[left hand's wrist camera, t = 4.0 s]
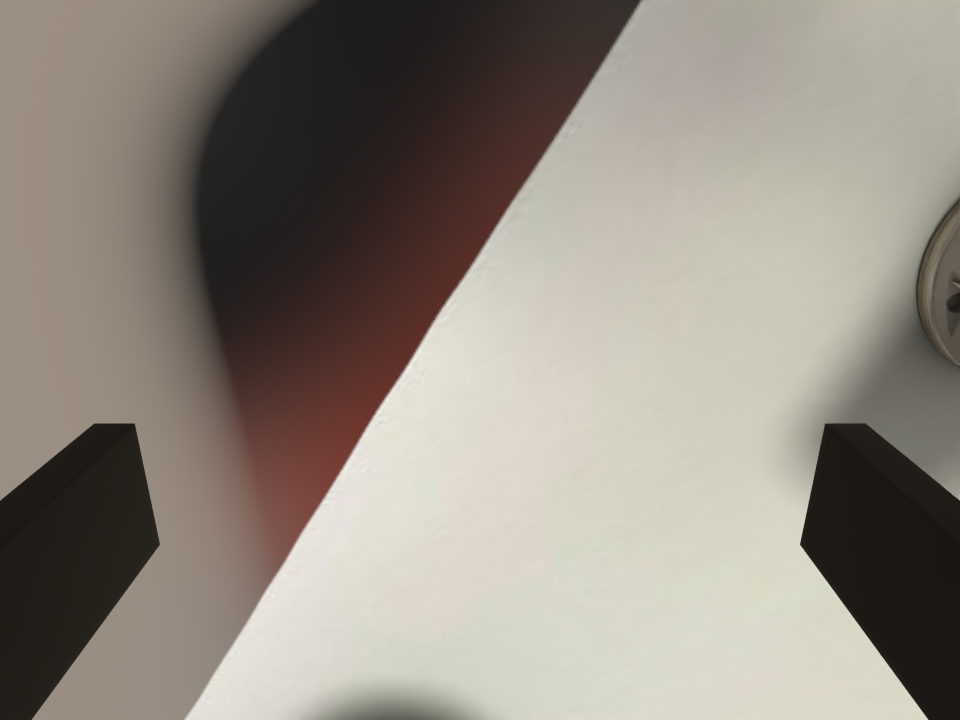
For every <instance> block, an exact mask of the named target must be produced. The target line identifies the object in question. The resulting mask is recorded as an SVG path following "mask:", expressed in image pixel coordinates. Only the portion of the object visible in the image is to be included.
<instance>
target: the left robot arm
mask: <svg viewBox="0 0 960 720" xmlns="http://www.w3.org/2000/svg"><path fill="white" fill-rule="evenodd" d="M918 308H919V314H920V318H921V321H922V325H923V327H924V329H925V332H926V334H927V336H928V337H929V339H930V341H931V342H932V343H933V345H934V346H935V347H936V349H937V350H938V351H939V352H940V353H941V354H942V355H943V356H945V357H946V358H947V359H949V360H950V361H951V362H953V363H955V364H956V365H958V366H960V202H959V203H958V204H957V205H956V206H955V207H954V208H953V209H952V211H951V212H950V213H949V214H948V216H947V217H946V218H945V220H944V221H943V223H942V224H941V226H940V227H939V229H938V230H937V232H936V234H935V235H934V237H933V239H932V241H931V243H930V245H929V247H928V250H927V252H926V255H925V258H924V260H923V263H922V267H921V271H920V276H919V283H918ZM159 545H160V543H159V538H158V533H157V528H156V523H155V519H154V514H153V509H152V504H151V499H150V495H149V490H148V485H147V480H146V475H145V471H144V466H143V461H142V456H141V451H140V447H139V442H138V437H137V432H136V427H135V424H93V425H92V426H91V427H90V428H88V429H87V430H86V431H85V432H84V433H82V434H81V435H80V436H79V437H77V438H76V439H75V440H74V441H73V442H71V443H70V444H69V445H68V446H66V447H65V448H64V449H63V450H62V451H60V452H59V453H58V454H57V455H55V456H54V457H53V458H52V459H51V460H49V461H48V462H47V463H46V464H44V465H43V466H42V467H41V468H40V469H38V470H37V471H36V472H35V473H33V474H32V475H31V476H30V477H29V478H27V479H26V480H25V481H24V482H22V483H21V484H20V485H19V486H18V487H16V488H15V489H14V490H13V491H12V492H10V493H9V494H8V495H7V496H5V497H4V498H3V499H2V500H1V501H0V720H32V718H33V717H34V716H35V714H36V713H37V712H38V710H39V709H40V707H41V706H42V705H43V703H44V702H45V701H46V699H47V698H48V697H49V695H50V694H51V692H52V691H53V690H54V688H55V687H56V686H57V684H58V683H59V682H60V680H61V679H62V677H63V676H64V675H65V673H66V672H67V671H68V669H69V668H70V667H71V665H72V664H73V662H74V661H75V660H76V658H77V657H78V656H79V654H80V653H81V652H82V650H83V649H84V647H85V646H86V645H87V643H88V642H89V641H90V639H91V638H92V636H93V635H94V634H95V632H96V631H97V630H98V628H99V627H100V626H101V624H102V623H103V622H104V620H105V619H106V617H107V616H108V615H109V613H110V612H111V611H112V609H113V608H114V606H115V605H116V604H117V602H118V601H119V600H120V598H121V597H122V596H123V594H124V593H125V591H126V590H127V589H128V587H129V586H130V585H131V583H132V582H133V580H134V579H135V578H136V576H137V575H138V574H139V572H140V571H141V570H142V568H143V567H144V565H145V564H146V563H147V561H148V560H149V559H150V557H151V556H152V555H153V553H154V552H155V550H156V549H157V548H158V546H159ZM800 545H801V546H802V548H803V549H804V551H805V552H806V553H807V555H808V556H809V557H810V559H811V560H812V561H813V563H814V564H815V566H816V567H817V568H818V570H819V571H820V572H821V574H822V575H823V576H824V578H825V579H826V581H827V582H828V583H829V585H830V586H831V587H832V589H833V590H834V591H835V593H836V594H837V596H838V597H839V598H840V600H841V601H842V602H843V604H844V605H845V606H846V608H847V609H848V611H849V612H850V613H851V615H852V616H853V617H854V619H855V620H856V622H857V623H858V624H859V626H860V627H861V628H862V630H863V631H864V632H865V634H866V635H867V637H868V638H869V639H870V641H871V642H872V643H873V645H874V646H875V647H876V649H877V650H878V652H879V653H880V654H881V656H882V657H883V658H884V660H885V661H886V662H887V664H888V665H889V667H890V668H891V669H892V671H893V672H894V673H895V675H896V676H897V677H898V679H899V680H900V682H901V683H902V684H903V686H904V687H905V688H906V690H907V691H908V692H909V694H910V695H911V697H912V698H913V699H914V701H915V702H916V703H917V705H918V706H919V707H920V709H921V710H922V712H923V713H924V714H925V716H926V717H927V718H928V720H960V501H959V500H958V499H957V498H956V497H955V496H953V495H952V494H951V493H950V492H949V491H947V490H946V489H945V488H944V487H942V486H941V485H940V484H939V483H938V482H936V481H935V480H934V479H933V478H931V477H930V476H929V475H928V474H927V473H925V472H924V471H923V470H922V469H920V468H919V467H918V466H917V465H916V464H914V463H913V462H912V461H911V460H909V459H908V458H907V457H906V456H905V455H903V454H902V453H901V452H900V451H898V450H897V449H896V448H895V447H894V446H892V445H891V444H890V443H889V442H887V441H886V440H885V439H884V438H883V437H881V436H880V435H879V434H878V433H876V432H875V431H874V430H873V429H872V428H870V427H869V426H868V425H867V424H825V427H824V432H823V437H822V442H821V447H820V451H819V456H818V461H817V466H816V471H815V475H814V480H813V485H812V490H811V495H810V499H809V504H808V509H807V514H806V519H805V523H804V528H803V533H802V538H801V543H800Z"/></svg>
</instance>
